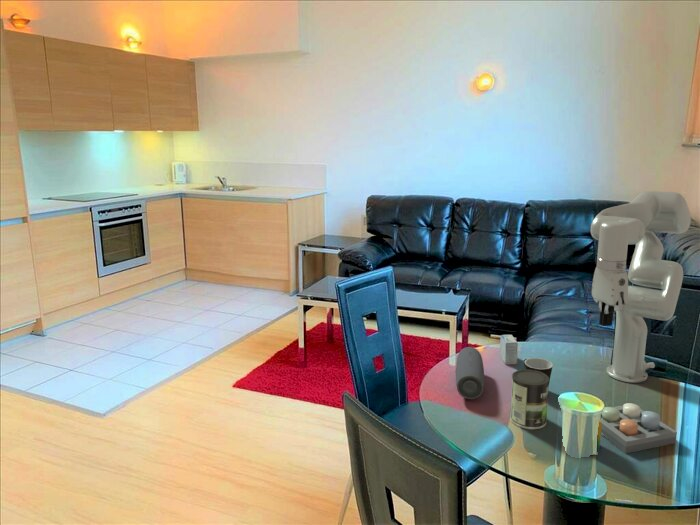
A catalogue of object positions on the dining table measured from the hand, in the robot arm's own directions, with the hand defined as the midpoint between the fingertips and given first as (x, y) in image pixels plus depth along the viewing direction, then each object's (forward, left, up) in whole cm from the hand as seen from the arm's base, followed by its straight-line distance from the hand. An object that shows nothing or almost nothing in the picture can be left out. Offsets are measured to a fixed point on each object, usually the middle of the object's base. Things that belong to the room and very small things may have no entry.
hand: (605, 324), depth 159 cm
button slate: (-2, +18, -23) cm, 29 cm away
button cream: (-3, +10, -25) cm, 27 cm away
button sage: (+5, +10, -25) cm, 27 cm away
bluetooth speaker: (+31, -25, -27) cm, 48 cm away
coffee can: (+24, 0, -27) cm, 36 cm away
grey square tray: (+1, +14, -27) cm, 31 cm away
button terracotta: (+5, +18, -25) cm, 31 cm away
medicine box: (+8, -39, -27) cm, 48 cm away
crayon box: (+16, +17, -27) cm, 36 cm away
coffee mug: (+11, -16, -27) cm, 34 cm away
